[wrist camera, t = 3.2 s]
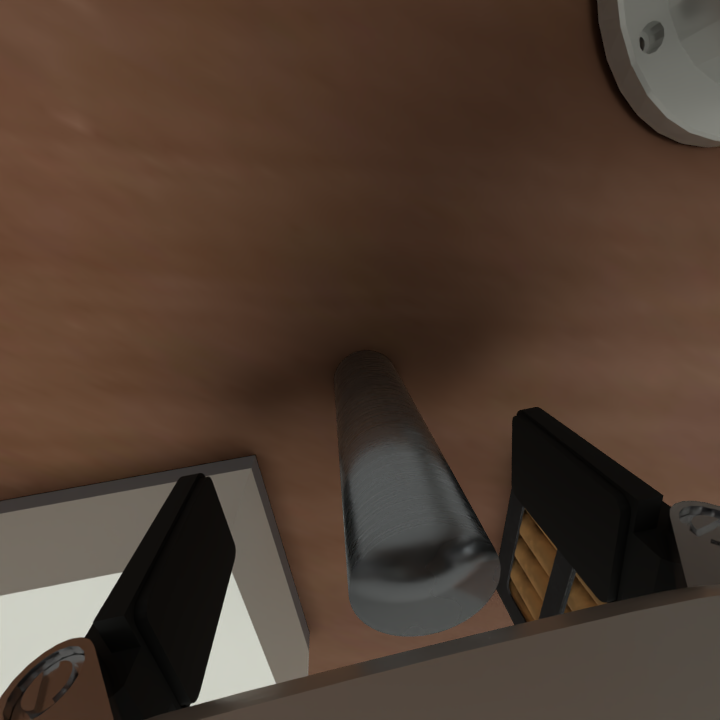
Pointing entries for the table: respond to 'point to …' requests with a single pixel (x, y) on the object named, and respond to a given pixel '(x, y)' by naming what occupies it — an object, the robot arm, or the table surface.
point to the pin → (403, 510)
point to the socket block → (113, 552)
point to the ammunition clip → (536, 572)
